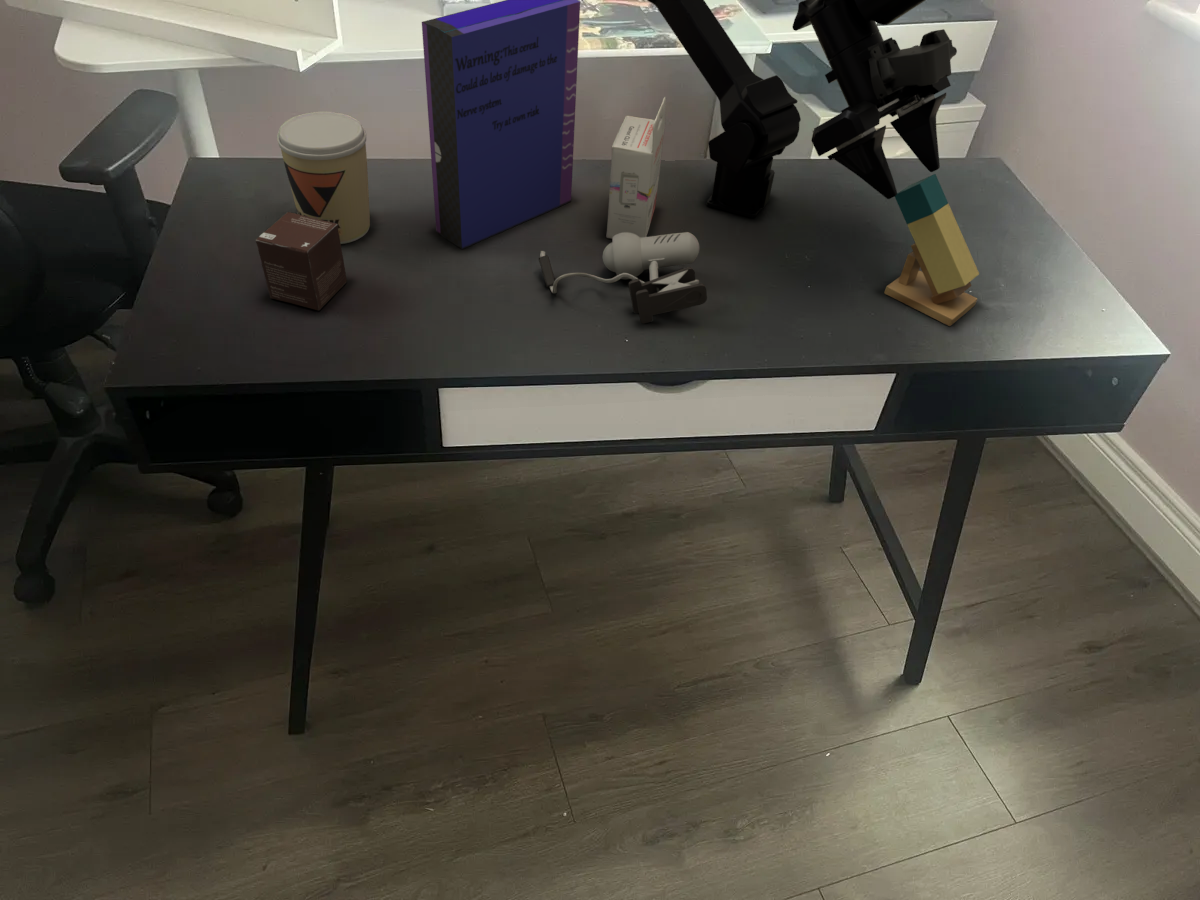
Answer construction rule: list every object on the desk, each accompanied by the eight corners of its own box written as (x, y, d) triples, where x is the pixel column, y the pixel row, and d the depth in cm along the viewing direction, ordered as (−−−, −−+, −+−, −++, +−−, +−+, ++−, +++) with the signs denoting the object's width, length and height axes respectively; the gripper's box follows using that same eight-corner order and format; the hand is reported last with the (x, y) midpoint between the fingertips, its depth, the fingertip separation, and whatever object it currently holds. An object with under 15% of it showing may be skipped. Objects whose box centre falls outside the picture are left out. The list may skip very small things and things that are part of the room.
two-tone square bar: (872, 262, 104) (900, 175, 97) (887, 251, 106) (916, 165, 99) (957, 303, 99) (993, 215, 92) (971, 291, 101) (1008, 204, 94)
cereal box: (545, 186, 116) (550, -14, 100) (571, 201, 114) (580, -1, 97) (436, 232, 107) (421, 19, 90) (462, 249, 105) (451, 34, 88)
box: (349, 283, 99) (339, 223, 94) (319, 313, 95) (307, 252, 89) (299, 270, 100) (288, 210, 95) (268, 299, 96) (253, 238, 91)
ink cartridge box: (617, 203, 114) (627, 88, 104) (655, 210, 114) (669, 94, 104) (603, 238, 108) (612, 119, 98) (644, 245, 108) (658, 126, 98)
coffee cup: (278, 236, 104) (257, 136, 96) (325, 199, 111) (309, 103, 102) (348, 256, 102) (333, 156, 94) (392, 218, 109) (381, 121, 100)
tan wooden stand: (883, 293, 104) (900, 244, 99) (910, 274, 107) (927, 225, 103) (949, 326, 100) (970, 277, 95) (975, 305, 103) (995, 257, 99)
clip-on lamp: (542, 339, 99) (709, 319, 96) (530, 294, 94) (704, 272, 91) (547, 270, 106) (701, 250, 104) (535, 225, 101) (696, 203, 99)
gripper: (868, 26, 84) (936, 182, 86) (963, -14, 94) (1022, 127, 96) (781, 83, 93) (845, 222, 95) (876, 41, 103) (932, 168, 106)
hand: (914, 183), depth 98 cm, fingers open, 9 cm apart
